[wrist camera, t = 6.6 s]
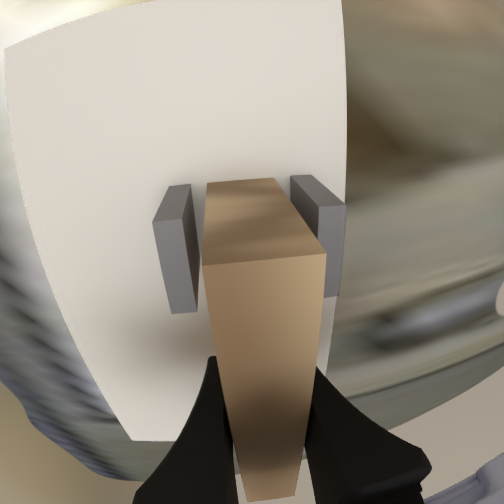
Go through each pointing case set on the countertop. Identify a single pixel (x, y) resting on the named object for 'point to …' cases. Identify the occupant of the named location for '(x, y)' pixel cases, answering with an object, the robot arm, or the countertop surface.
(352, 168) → the countertop surface
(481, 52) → the countertop surface
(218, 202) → the door panel
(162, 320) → the board
